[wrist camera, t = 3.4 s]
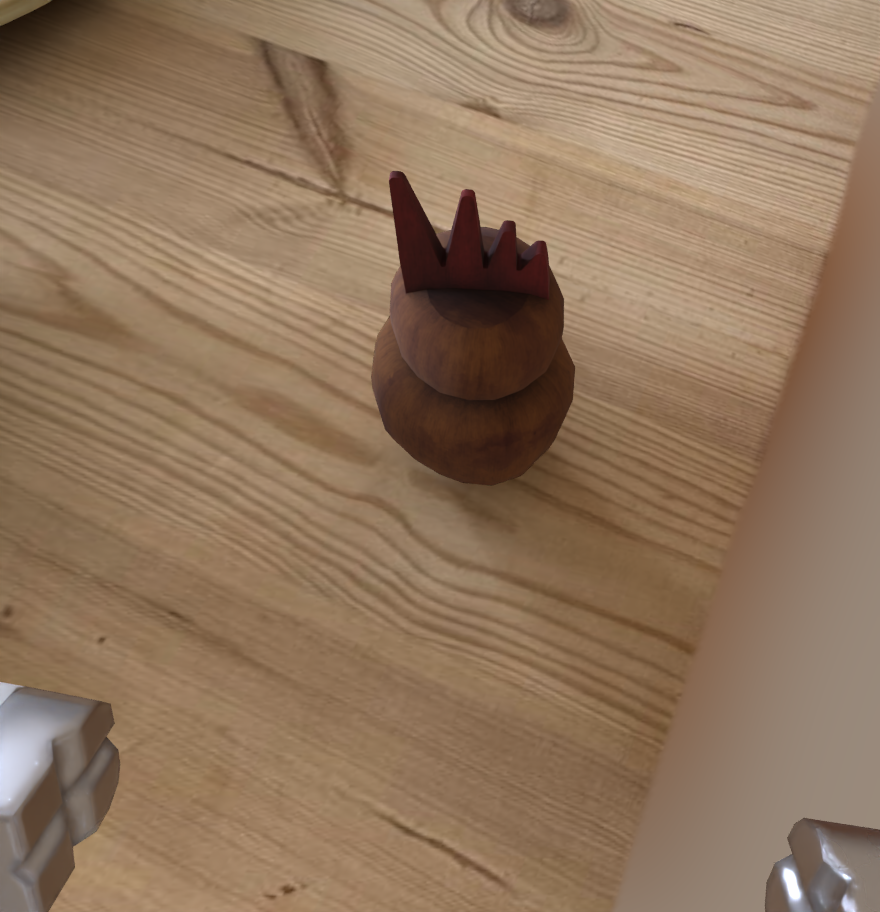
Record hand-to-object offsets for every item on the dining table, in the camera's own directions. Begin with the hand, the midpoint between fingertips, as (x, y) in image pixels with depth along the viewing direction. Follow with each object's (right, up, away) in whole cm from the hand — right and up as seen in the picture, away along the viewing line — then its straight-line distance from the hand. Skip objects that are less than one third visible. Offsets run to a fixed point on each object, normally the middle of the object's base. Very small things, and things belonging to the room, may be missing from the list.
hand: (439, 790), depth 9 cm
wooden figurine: (+1, +5, +21) cm, 22 cm away
